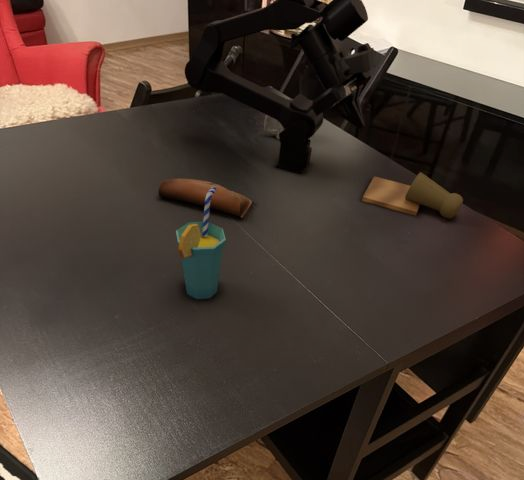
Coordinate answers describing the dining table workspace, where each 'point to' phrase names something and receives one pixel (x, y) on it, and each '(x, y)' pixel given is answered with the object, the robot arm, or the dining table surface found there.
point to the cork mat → (390, 196)
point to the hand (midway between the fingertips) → (362, 127)
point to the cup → (201, 254)
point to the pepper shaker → (434, 196)
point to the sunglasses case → (197, 193)
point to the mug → (272, 131)
